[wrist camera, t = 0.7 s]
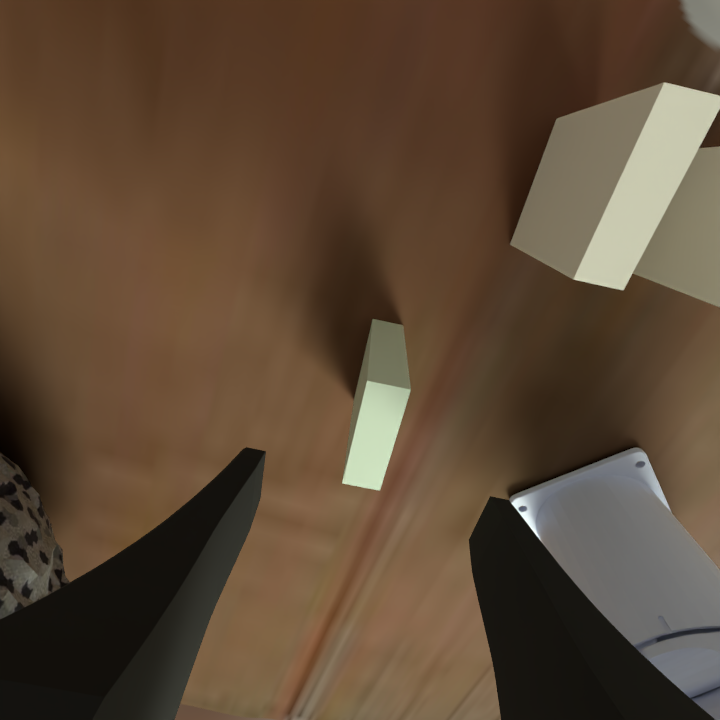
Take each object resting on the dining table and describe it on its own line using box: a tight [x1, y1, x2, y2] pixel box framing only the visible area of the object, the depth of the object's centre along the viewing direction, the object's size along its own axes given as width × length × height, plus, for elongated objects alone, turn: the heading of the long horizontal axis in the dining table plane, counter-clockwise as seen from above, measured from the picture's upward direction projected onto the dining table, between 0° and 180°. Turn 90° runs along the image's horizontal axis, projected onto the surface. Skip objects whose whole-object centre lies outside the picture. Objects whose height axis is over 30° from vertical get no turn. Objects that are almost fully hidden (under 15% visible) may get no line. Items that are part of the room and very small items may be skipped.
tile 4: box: [510, 82, 720, 290], centre depth 13 cm, size 2×5×6 cm, turn 168°
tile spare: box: [342, 319, 411, 491], centre depth 17 cm, size 2×5×6 cm, turn 169°
